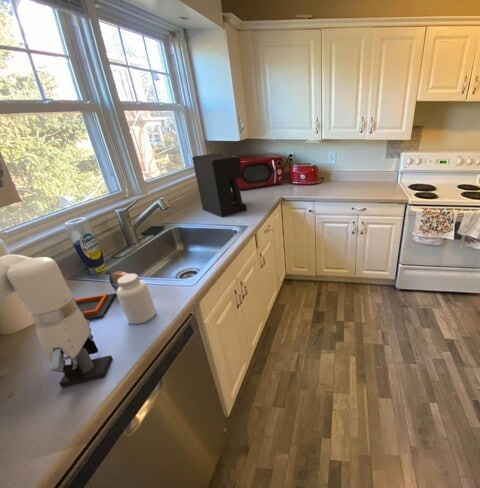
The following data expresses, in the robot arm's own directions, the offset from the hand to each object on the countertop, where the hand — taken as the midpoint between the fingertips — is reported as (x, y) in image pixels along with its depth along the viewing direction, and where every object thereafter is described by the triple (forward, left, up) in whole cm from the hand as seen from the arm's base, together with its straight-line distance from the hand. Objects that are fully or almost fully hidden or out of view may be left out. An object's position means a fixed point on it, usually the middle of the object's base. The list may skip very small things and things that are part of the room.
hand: (84, 365), depth 71 cm
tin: (+1, +36, -3) cm, 36 cm away
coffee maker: (+36, +123, -3) cm, 128 cm away
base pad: (-12, +30, -3) cm, 32 cm away
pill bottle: (+8, +20, -3) cm, 22 cm away
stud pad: (0, 0, -3) cm, 3 cm away
